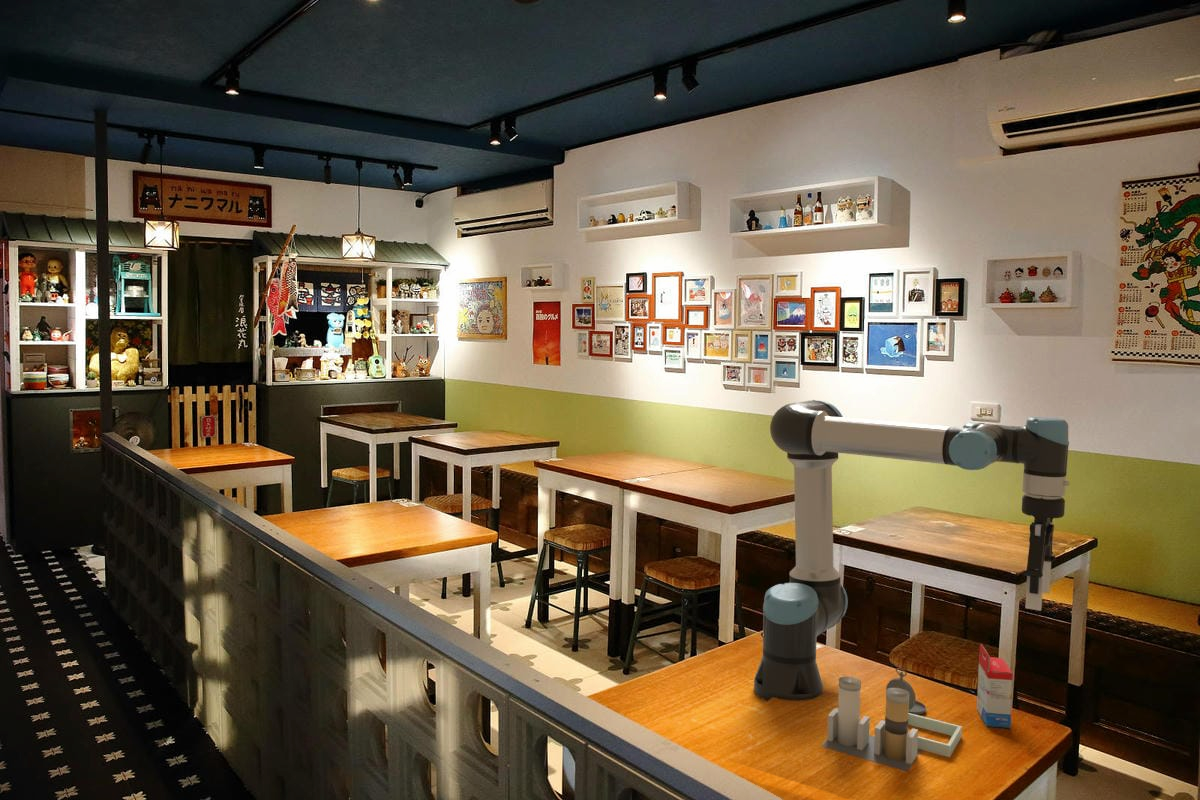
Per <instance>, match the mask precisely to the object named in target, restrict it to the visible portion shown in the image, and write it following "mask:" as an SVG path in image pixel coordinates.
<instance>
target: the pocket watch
mask: <svg viewBox="0 0 1200 800" xmlns="http://www.w3.org/2000/svg"><path fill="white" fill-rule="evenodd" d="M898 670H901V671H898ZM895 672H896V673H897V674H898V676H899V677H900V678H899V677H894V678H892V679H891V680H889V681H888V683H887V684H886V687H885V691H886V690H887V689H888V688H901V689H904V690H906V691H908V692H909V713H911V714H915V715H919V716H920V715H923V714H924V713H926V711H927V706H926V705H925V704H923V703H922V702H921V701H918V700H917V699H916V693H915V691H914V688H913V687H912V685H911V684H910V682H908V681H907V680H905V679H903V678H905V677H907V674H908V673H907V671H906V670H904V668H900V667H897V668H895Z"/></svg>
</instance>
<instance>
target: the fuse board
mask: <svg viewBox="0 0 1200 800" xmlns="http://www.w3.org/2000/svg"><path fill="white" fill-rule="evenodd" d="M837 730H838V707H836V708H835V707H834V708H833V709H832V710H831V711H830V712H829V713H828V714H827V733H826V734H827V736H826V738H827V739H826V740H825V742H823V744H822V745H821V747H822V748H826V749H828V750H833V751H836V752H840V753H843V754H845V755H849V756H852V757H853V756H854V757H857V758H860V759H862V760H867V761H870V762H874V763H875V764H876V763H877V764H880V765H883V766H887V767H890V768H894V769H897V770H901V771H904V772H908V771H909V770H910V769H911V767H912V765H913V764H914V762H915V761H916V760H917V758H918V757H919V755H920V754H921V752H922V751H923V750H922V749H918V748H917V746H918V736H919V729H917V728H913V727H912V728H911V730H910V731H908V735H907V743H906V759H903V760H895V759H891V758H889V757H887V756H886V755H885V754H884V745H885V720H883V719H881V720H880V721H879V722H878V723H877V725H876V726H875V727H874V735H870V716H867V715H864V716H863V717H862V718H860V720H859V722H858V733H857V745H856V746H846V745H842V744H840V743H839V742H838V741H837Z"/></svg>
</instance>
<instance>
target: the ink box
mask: <svg viewBox="0 0 1200 800" xmlns="http://www.w3.org/2000/svg"><path fill="white" fill-rule="evenodd" d="M977 671H978V672H977V673H978V675H977V676H978V677H977V698H976V699H977V700H976V701H977V702H976V710H977V712H978V713H979V715H980V717H981V719H982V721H983V723H984V724H985V726H986V727H995V728H1004V729H1005V728H1006V729H1011V728H1012V727H1011V726H1012V693H1013V674H1014V673H1013V671H1012V670H1011V669H1010V667H1009V666H1008V664H1007V663H1006V662H1005V661H1004V659H1003V658H1001V657H995V656H994V657H993V656H990V655H989V653H988V651H987V650H986V649H985V647H984V645H983V643H980V645H979V654H978V670H977Z"/></svg>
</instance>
